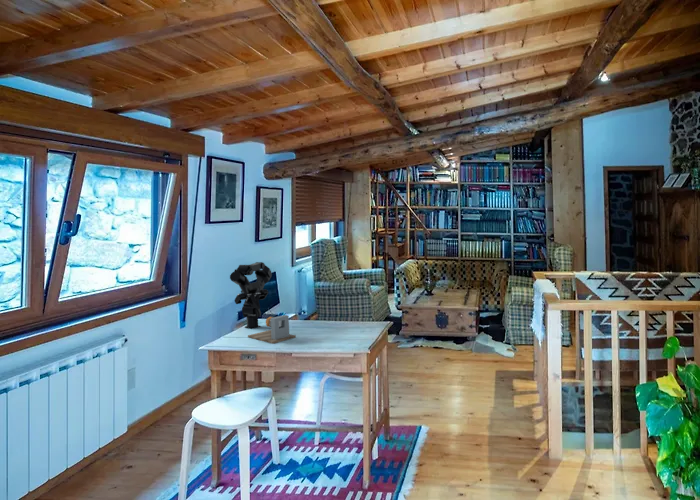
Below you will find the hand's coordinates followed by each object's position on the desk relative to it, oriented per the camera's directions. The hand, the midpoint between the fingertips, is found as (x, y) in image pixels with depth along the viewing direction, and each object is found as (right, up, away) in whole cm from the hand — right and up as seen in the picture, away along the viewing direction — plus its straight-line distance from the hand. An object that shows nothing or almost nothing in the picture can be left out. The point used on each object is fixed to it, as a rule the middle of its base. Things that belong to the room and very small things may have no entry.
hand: (259, 308), depth 260 cm
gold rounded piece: (+9, -9, -8) cm, 15 cm away
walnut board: (+7, -14, -5) cm, 17 cm away
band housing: (+12, -13, -10) cm, 21 cm away
